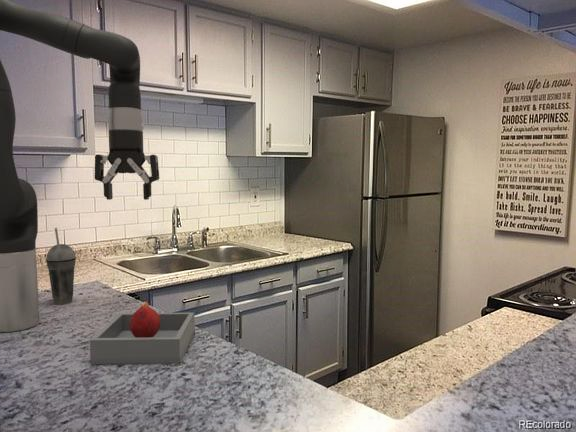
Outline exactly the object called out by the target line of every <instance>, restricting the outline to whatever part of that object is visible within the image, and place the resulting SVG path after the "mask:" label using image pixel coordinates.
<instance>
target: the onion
mask: <svg viewBox="0 0 576 432" xmlns="http://www.w3.org/2000/svg"><path fill="white" fill-rule="evenodd" d="M133 313H134V314H133V315H132V317H131V320H130V325H129V326H130V331H131V332H132V334H133V336H135V337H136V338H152V337H154V336H155V335H156V334H157V333H158V331H159V329H160V323H161V321H160V317H159V315H158V313H159V312H157V311H156V310H155V309H154V308H152V307H150V305H149V303H148V302H147V301H144V302H143V303H142V304H141V305H140V307H139V308H138V309H137V310H135V311H134V312H133Z"/></svg>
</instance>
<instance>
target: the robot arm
mask: <svg viewBox="0 0 576 432" xmlns="http://www.w3.org/2000/svg"><path fill="white" fill-rule="evenodd" d="M0 31H2V32H6V33H11V34H13V35H17V36H21V37H24V38H27V39H30V40H33V41H36V42H39V43H41V44H44V45H46V46H49V47H52V48H54V49H57V50H60V51H62V52H65V53H68V54H71V55H73V56H76V57H78V58H82V59H86V60H89V59H93V60H96V61H99V62H101V63H104V64H107V65H109V82H110V83H109V86H108V92H107V94H108V95H107V96H108V116H107V123H108V126H107V127H108V129H107V131H108V148H109V149H108V151H109V152H108V155H103V154H97V153H96V154H95V156H94V180H95V181H98V182H101V183H102V184H103V196H104V198H106V200H108V201H109V200H113V183H112V181H113V180H114V179H115V177H116V176H117V175H118V174H136V175H138V177H140V179H141V180H142V181H143V182H144V183H143V184H142V188H143V189H142V193H143V200H144V201H146V200H149V199H150V197H152V194H153V193H152V184H153V182H156V181H159V180H160V169H159V157H158V155H156V154H150V155H145V152H144V123H143V121H144V120H143V115H142V103H141V102H142V97H141V89H140V83H141V81H140V79H141V57H140V52H139V48H138V45H136V43H135V42H134V41H133V40H132V39H130V38H129V37H126V36H124V35H121V34H118V33H115V32H111V31H109V30H108V31H107V30H102V29H98V28H97V29H96V28H93V27H92V26H89V25H86V24H85V23H81V22H79V21H76V20H75V19H74V20H73V19H72V18H68V17H65V16H61V15H59V14H56V13H55V14H54V13H52V12H45V11H40V10H36V9H31V8H28V7H25V6H23V5H20V4H17V3H15V2H13V1H11V0H0ZM16 117H17V116H16V108H15V103H14V97H13V91H12V87H11V84H10V81H9V77H8V75H7V72H6V70H5V68H4V64H3V62H2V59H0V333H1V332H2V333H3V332H5V333H9V332H10V333H11V332H17V331H22V330H27V329H31V328H33V327H35V326H38V325H39V324H40V307H39V306H40V305H39V302H40V301H39V284H38V283H39V282H38V267H37V248H36V247H37V246H36V244H37V243H36V241H37V237H38V231H39V230H38V227H39V223H38V222H39V221H38V219H39V218H38V213H39V212H38V199H37V197H38V196H37V194H36V191H35V188H34V187H33V186H32V185H31V183H30V182H28V181H27V180H25V179H22V178H19V176H18V173H17V168H16V164H15V159H14V152H13V148H14V147H13V146H14V138H15V137H14V136H15V130H16V120H17V119H16ZM107 161H108V162H109V164H110V168H109V169H108V171H107V173H106V174H105V165H106V164H107ZM146 161H147V164H149V165H150V172H151V176H150V175H149V174H148V173H147V171H146V170H145V169H144V167H143V164H144V163H145V162H146ZM104 174H105V176H104Z"/></svg>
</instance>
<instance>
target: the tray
mask: <svg viewBox="0 0 576 432" xmlns="http://www.w3.org/2000/svg"><path fill="white" fill-rule="evenodd" d="M134 313H135V312H122V313H121V312H119V313H118V314H117V315H115V316H114V317H113V318H112V319H111V320H110V321H109V322H108V323H107V324H106V325H104V326H103V328H101V329H100V330H99V331H98V332H97V333H96V334H95V335H93V337H91V338H90V340H89V353H90V354H89V355H90V356H89V357H90V365H131V364H132V365H135V364H136V365H137V364H139V365H140V364H142V365H143V364H148V365H149V364H151V365H153V364H155V365H157V364H181V362H182V360H183V358H184V356H185V354H186V352H187V350H188V348H189V346H190V343H191V341H192V339H193V337H194V335H195V333H196V331H195V330H196V327H195V325H196V322H195V312H157V313H158V315H159V317H160V321H161V323H160V329H159V331H158V333H157V334H156V335H155V336H154V337H152V338H136V337H135V336H133V334H132V332H131V331H130V326H129V325H130V320H131V317H132V315H133V314H134Z"/></svg>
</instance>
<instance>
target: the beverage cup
mask: <svg viewBox="0 0 576 432" xmlns="http://www.w3.org/2000/svg"><path fill="white" fill-rule="evenodd" d="M54 231H55V232H54V233H55V239H56V244H55V245H53V246H51V248H50V249H48V251H47V254H46V258H45V263H46V266H47V269H48V274H49V276H48V277H49V282H50V290H51V295H52V301H53V305H57V306H58V305H60V306H62V305H67V304H72V303H73V297H74V284H75V283H74V282H75V280H74V279H75V266H76V260H77V257H76V252H75V251H74V249H73V248H72V247H71V246H69V245H67V244H65V243H64V244H63V243H61V244H60V238H59V233H58V227H55V228H54Z"/></svg>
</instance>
